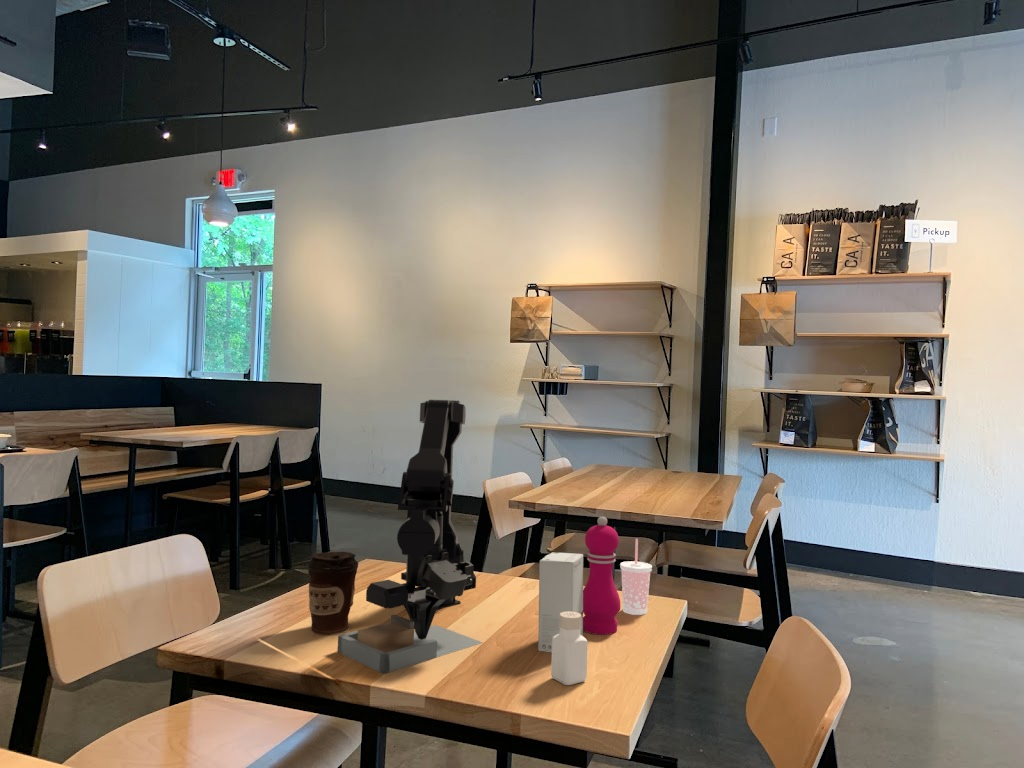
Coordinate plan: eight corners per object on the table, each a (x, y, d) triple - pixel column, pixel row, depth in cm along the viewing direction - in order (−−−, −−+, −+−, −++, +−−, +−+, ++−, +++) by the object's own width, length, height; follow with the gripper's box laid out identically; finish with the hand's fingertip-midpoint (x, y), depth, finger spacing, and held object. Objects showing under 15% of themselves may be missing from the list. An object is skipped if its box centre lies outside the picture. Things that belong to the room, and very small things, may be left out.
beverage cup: (644, 618, 136) (646, 543, 137) (614, 612, 139) (616, 539, 140) (655, 610, 142) (657, 538, 142) (625, 604, 145) (627, 534, 145)
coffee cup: (342, 641, 119) (344, 562, 119) (295, 636, 120) (298, 558, 121) (363, 625, 127) (365, 551, 128) (319, 621, 129) (321, 547, 129)
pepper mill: (623, 625, 131) (626, 515, 132) (615, 638, 125) (618, 521, 125) (584, 620, 134) (587, 512, 134) (574, 632, 127) (577, 517, 127)
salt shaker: (588, 681, 105) (589, 616, 105) (566, 687, 103) (568, 620, 103) (570, 672, 108) (572, 608, 109) (549, 678, 106) (551, 612, 106)
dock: (435, 626, 128) (436, 610, 128) (483, 644, 120) (483, 627, 120) (337, 653, 113) (338, 635, 113) (383, 675, 105) (384, 656, 105)
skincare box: (572, 657, 115) (575, 563, 115) (535, 652, 117) (538, 559, 117) (583, 640, 123) (585, 552, 123) (548, 636, 125) (551, 549, 125)
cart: (393, 645, 117) (394, 614, 117) (413, 654, 113) (414, 622, 113) (356, 655, 112) (357, 623, 112) (376, 665, 108) (377, 631, 108)
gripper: (409, 560, 106) (406, 667, 106) (500, 543, 119) (497, 638, 119) (365, 547, 114) (362, 647, 114) (455, 532, 127) (452, 621, 127)
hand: (421, 638), depth 118 cm, fingers closed
